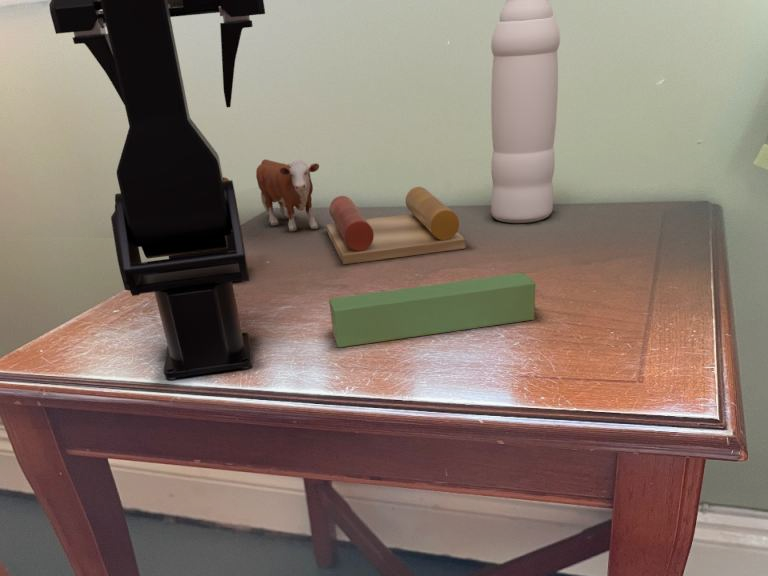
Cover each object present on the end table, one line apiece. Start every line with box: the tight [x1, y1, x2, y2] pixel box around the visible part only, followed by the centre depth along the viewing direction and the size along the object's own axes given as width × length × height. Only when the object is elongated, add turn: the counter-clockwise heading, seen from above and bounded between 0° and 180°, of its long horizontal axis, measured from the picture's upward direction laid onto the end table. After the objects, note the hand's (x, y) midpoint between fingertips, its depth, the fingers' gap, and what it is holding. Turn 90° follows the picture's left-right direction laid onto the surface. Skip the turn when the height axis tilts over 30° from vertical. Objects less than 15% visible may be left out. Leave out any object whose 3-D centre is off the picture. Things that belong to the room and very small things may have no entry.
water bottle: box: [490, 0, 561, 224], centre depth 82 cm, size 7×7×25 cm
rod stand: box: [326, 186, 466, 265], centre depth 84 cm, size 14×13×4 cm
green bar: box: [328, 272, 536, 348], centre depth 61 cm, size 3×16×3 cm, turn 100°
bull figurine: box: [255, 158, 320, 232], centre depth 91 cm, size 4×13×8 cm, turn 29°
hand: (181, 112), depth 75 cm, fingers open, 9 cm apart
